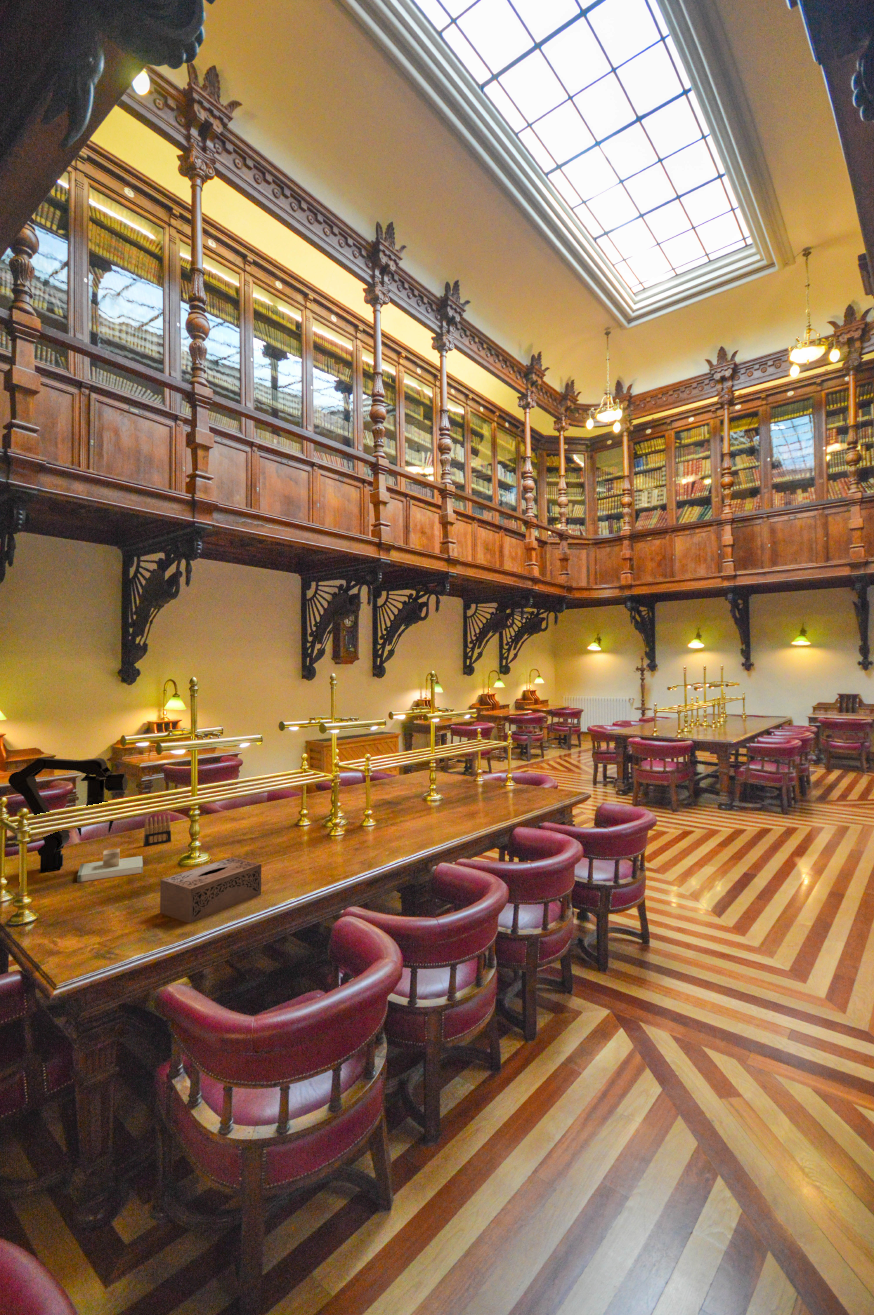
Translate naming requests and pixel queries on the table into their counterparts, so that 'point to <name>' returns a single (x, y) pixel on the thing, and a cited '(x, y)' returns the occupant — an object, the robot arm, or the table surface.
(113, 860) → the maple block
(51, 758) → the robot arm
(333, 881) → the table surface
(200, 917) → the tissue box cover
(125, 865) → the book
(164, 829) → the ammunition clip
